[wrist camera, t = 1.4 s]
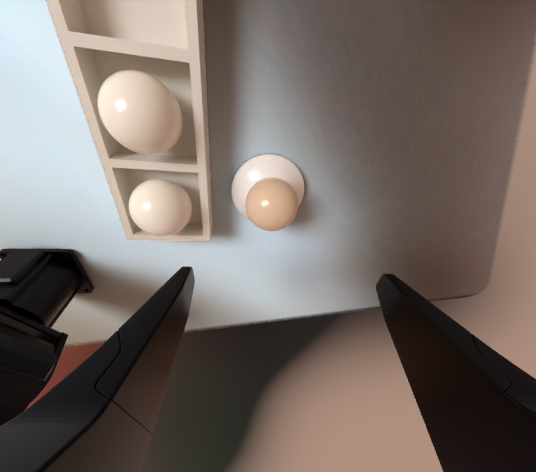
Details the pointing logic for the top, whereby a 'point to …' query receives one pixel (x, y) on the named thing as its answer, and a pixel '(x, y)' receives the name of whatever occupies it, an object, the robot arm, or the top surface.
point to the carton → (162, 68)
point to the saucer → (262, 169)
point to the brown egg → (271, 204)
